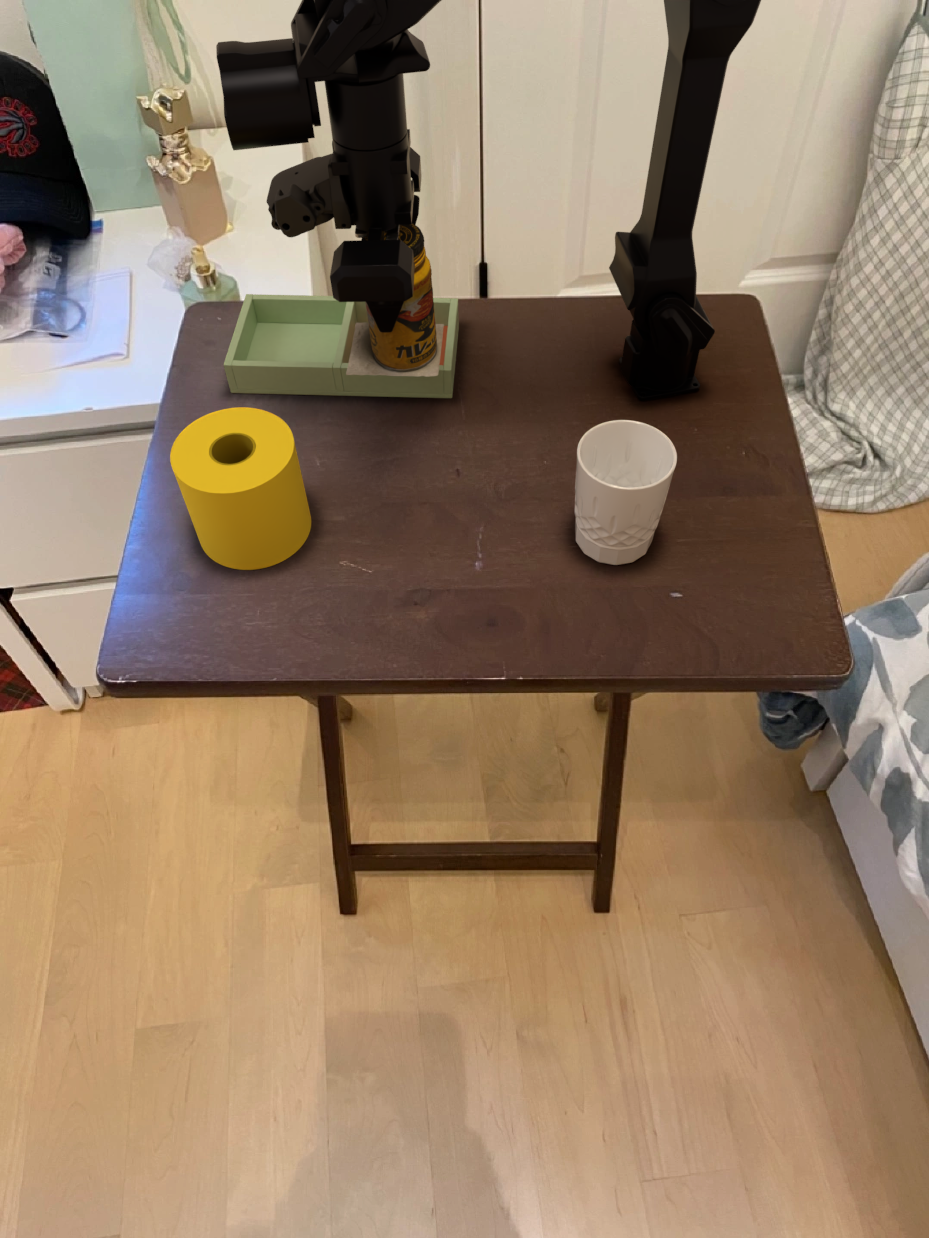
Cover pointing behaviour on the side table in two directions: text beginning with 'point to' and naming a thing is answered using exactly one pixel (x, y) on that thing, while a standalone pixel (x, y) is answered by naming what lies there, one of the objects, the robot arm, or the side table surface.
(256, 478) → the yellow toilet paper roll
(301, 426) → the side table surface
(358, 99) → the robot arm
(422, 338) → the condiment
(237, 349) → the holder
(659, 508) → the white cup
